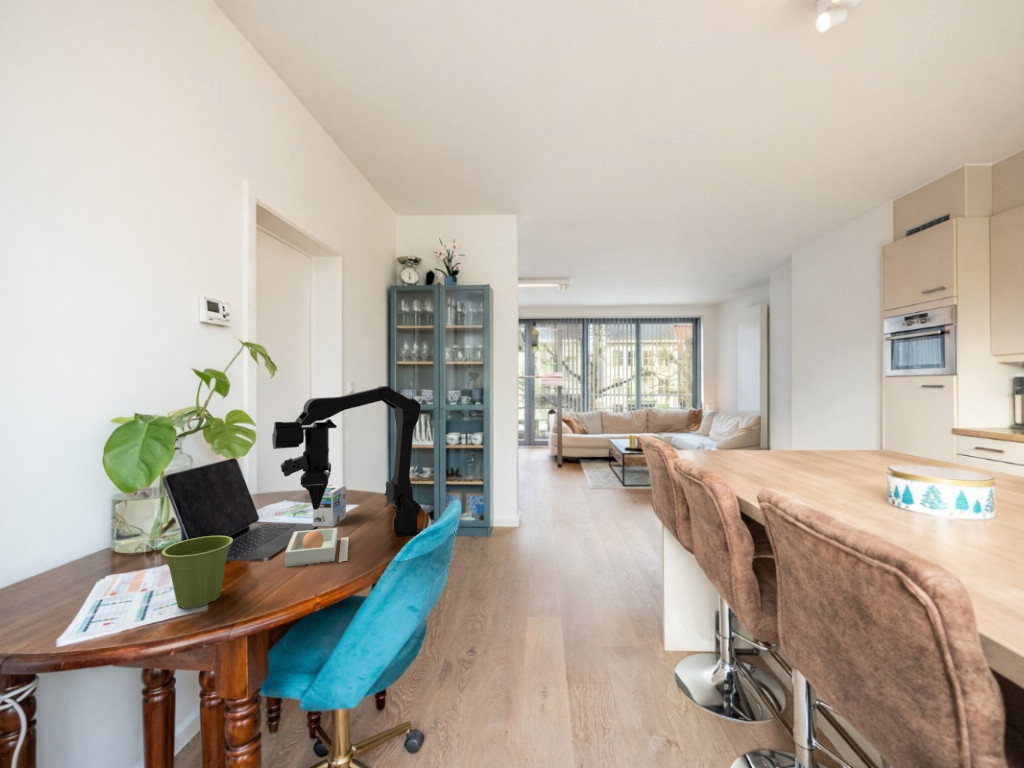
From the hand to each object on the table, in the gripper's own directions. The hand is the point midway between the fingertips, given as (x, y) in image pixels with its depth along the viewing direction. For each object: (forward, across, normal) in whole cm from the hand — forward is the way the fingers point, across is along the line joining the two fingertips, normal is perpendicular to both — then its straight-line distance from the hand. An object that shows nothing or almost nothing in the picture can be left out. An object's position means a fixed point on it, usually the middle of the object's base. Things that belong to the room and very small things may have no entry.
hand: (317, 504), depth 119 cm
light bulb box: (+12, -25, +2) cm, 28 cm away
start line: (+12, +2, +7) cm, 14 cm away
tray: (+12, +2, -1) cm, 12 cm away
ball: (+9, +2, -1) cm, 9 cm away
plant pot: (+12, +22, -21) cm, 33 cm away
